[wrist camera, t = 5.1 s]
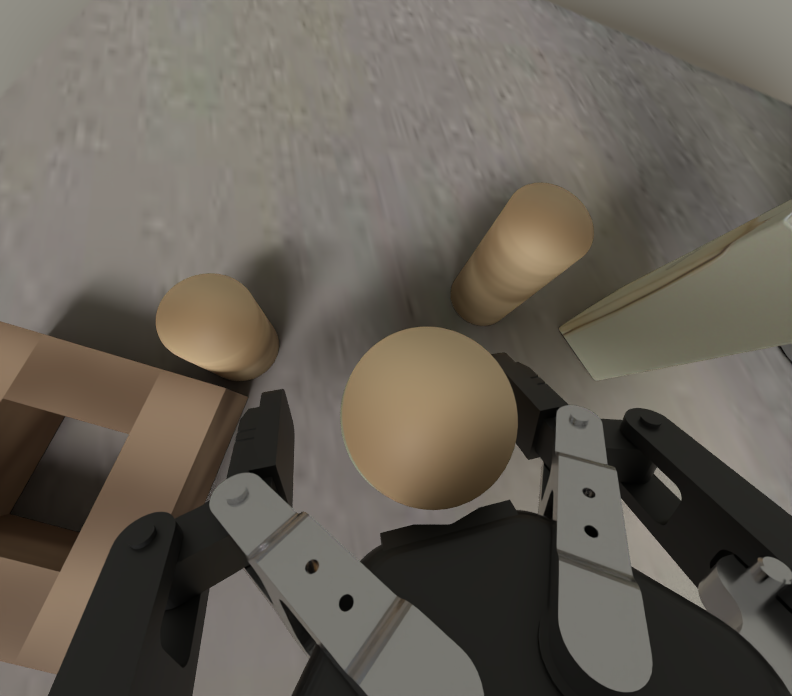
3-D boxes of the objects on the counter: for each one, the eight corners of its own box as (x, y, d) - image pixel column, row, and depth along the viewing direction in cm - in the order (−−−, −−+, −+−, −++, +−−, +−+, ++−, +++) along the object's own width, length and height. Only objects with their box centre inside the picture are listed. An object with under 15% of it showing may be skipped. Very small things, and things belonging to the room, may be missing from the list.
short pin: (222, 304, 19) (182, 261, 15) (289, 325, 20) (270, 289, 15) (192, 368, 18) (137, 345, 14) (263, 390, 19) (234, 373, 14)
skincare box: (617, 288, 24) (879, 144, 12) (657, 341, 23) (975, 242, 11) (553, 330, 22) (782, 211, 10) (594, 387, 21) (888, 328, 10)
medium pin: (458, 261, 22) (515, 170, 15) (513, 280, 23) (598, 199, 15) (444, 314, 21) (498, 246, 14) (502, 333, 21) (588, 276, 14)
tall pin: (357, 382, 19) (371, 302, 8) (424, 402, 20) (532, 354, 8) (334, 453, 18) (312, 481, 7) (406, 474, 18) (502, 535, 7)
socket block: (45, 337, 18) (-26, 313, 14) (248, 397, 18) (225, 388, 15) (-99, 566, 15) (-233, 605, 11) (152, 629, 15) (96, 683, 12)
